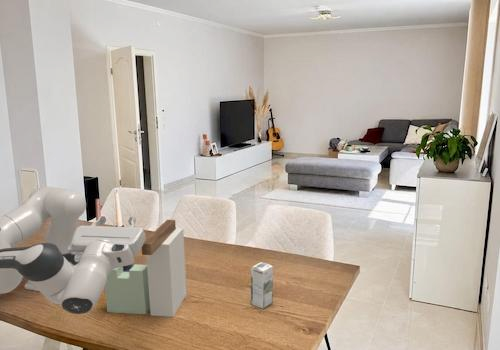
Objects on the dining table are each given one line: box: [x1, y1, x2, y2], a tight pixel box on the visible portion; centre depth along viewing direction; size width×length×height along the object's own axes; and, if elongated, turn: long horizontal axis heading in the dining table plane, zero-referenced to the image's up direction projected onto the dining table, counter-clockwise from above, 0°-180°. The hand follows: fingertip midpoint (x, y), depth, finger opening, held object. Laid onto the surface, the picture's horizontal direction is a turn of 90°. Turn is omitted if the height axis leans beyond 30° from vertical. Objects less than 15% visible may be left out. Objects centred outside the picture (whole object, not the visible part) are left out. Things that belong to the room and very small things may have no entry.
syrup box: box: [250, 261, 274, 310], centre depth 149 cm, size 6×6×14 cm
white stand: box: [145, 227, 188, 318], centre depth 148 cm, size 8×16×26 cm, turn 172°
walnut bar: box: [141, 219, 177, 256], centre depth 141 cm, size 3×24×4 cm, turn 172°
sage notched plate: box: [104, 263, 150, 315], centre depth 146 cm, size 14×5×16 cm, turn 82°
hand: (118, 218), depth 125 cm, fingers open, 8 cm apart
